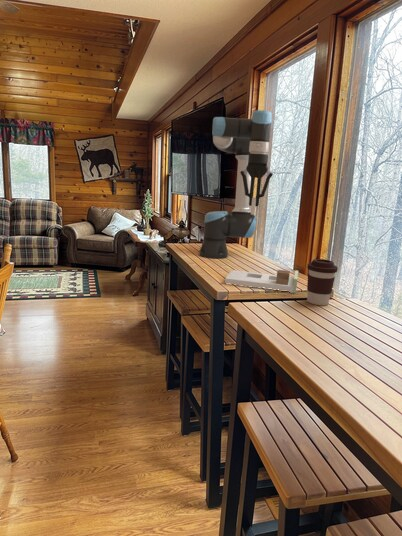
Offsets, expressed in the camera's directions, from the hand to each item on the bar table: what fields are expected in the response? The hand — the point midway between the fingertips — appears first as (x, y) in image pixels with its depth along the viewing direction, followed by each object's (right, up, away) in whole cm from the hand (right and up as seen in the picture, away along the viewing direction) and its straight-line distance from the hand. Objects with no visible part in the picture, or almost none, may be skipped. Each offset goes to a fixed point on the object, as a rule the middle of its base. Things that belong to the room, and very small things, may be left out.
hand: (252, 214), depth 156 cm
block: (+10, -28, -7) cm, 30 cm away
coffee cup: (+20, -34, -20) cm, 44 cm away
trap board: (+3, -28, -1) cm, 28 cm away
